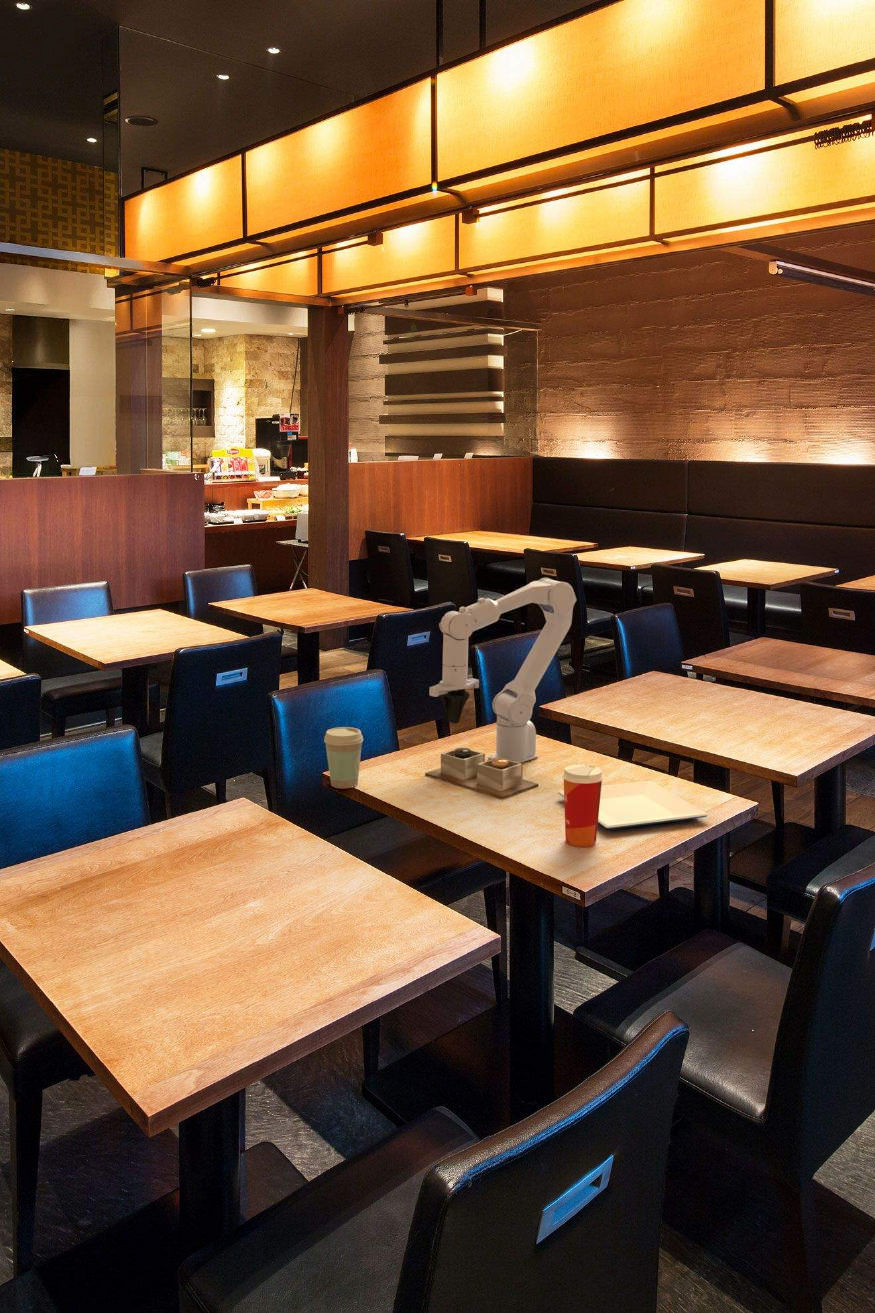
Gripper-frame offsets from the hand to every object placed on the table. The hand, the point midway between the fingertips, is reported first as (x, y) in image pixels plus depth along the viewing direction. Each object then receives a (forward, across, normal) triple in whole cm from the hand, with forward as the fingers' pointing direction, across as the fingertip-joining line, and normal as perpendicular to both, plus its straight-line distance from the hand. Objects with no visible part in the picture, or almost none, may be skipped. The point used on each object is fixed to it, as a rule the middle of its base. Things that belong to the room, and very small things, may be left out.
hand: (453, 722), depth 233 cm
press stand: (+10, +3, +12) cm, 16 cm away
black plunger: (+10, +3, +6) cm, 12 cm away
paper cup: (+10, +17, +49) cm, 53 cm away
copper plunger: (+10, +3, +17) cm, 20 cm away
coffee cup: (+11, +26, -8) cm, 30 cm away
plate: (+10, -4, +46) cm, 48 cm away
